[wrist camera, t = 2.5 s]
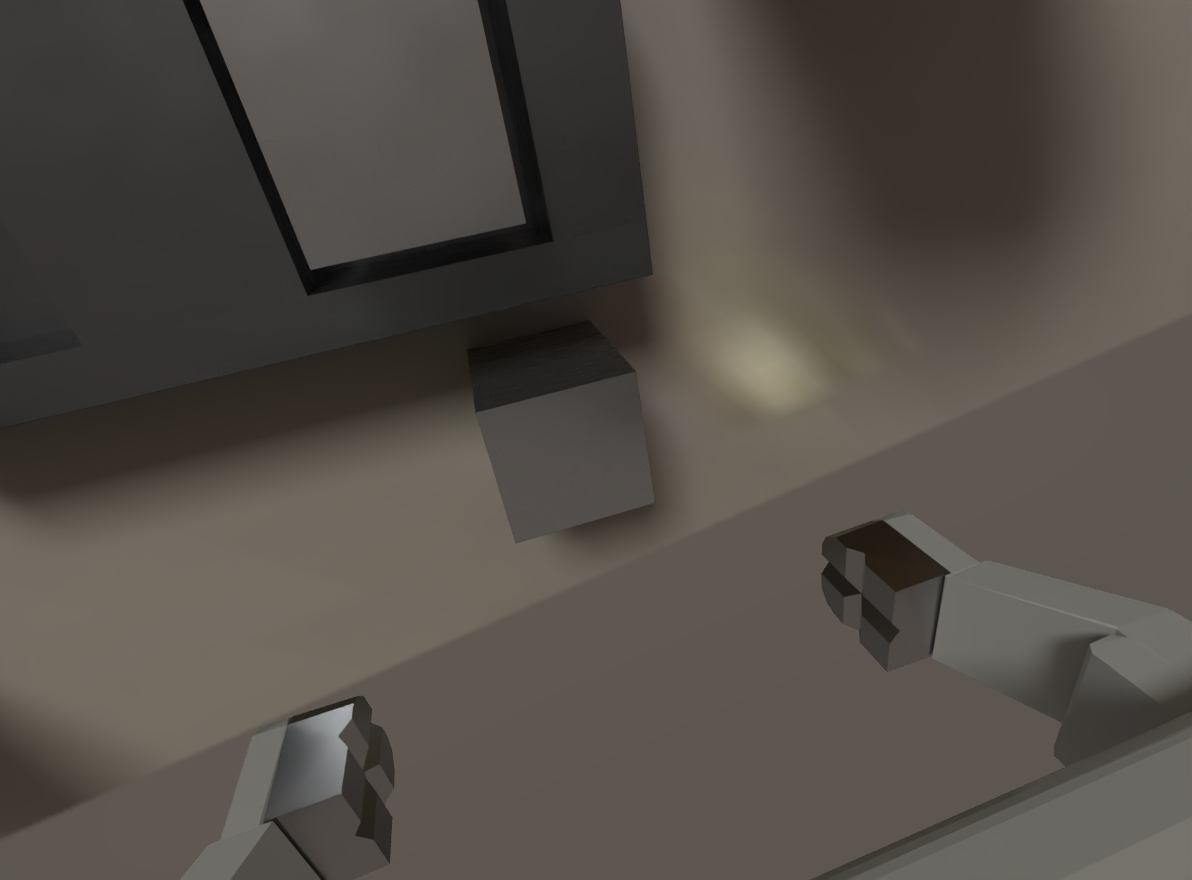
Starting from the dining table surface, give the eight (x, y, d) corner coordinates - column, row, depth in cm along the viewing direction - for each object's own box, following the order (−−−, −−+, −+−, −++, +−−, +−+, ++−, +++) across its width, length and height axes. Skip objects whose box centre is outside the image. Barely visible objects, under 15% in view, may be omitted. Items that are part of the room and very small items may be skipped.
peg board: (557, -94, 13) (598, -181, 10) (609, 250, 17) (652, 274, 14) (-458, 48, 11) (-887, -3, 7) (-127, 417, 15) (-303, 499, 11)
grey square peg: (458, 21, 13) (467, -46, 9) (500, 203, 15) (525, 223, 11) (280, 49, 13) (197, -6, 8) (348, 235, 14) (310, 269, 10)
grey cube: (589, 320, 18) (636, 371, 14) (608, 427, 20) (654, 502, 16) (467, 349, 18) (475, 412, 13) (499, 457, 20) (515, 543, 15)
